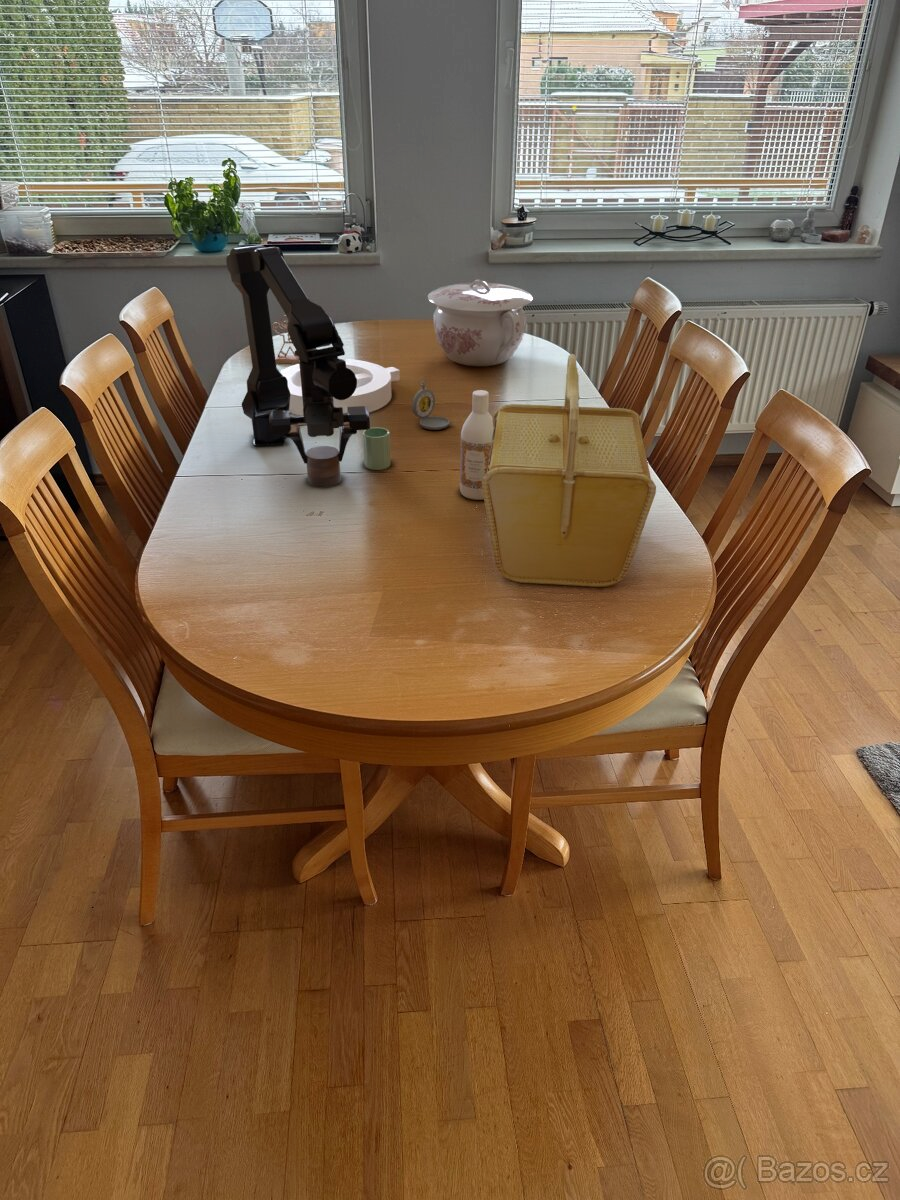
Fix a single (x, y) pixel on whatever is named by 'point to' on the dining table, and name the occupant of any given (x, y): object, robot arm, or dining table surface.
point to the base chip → (324, 481)
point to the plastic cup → (376, 448)
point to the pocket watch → (427, 409)
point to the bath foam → (475, 446)
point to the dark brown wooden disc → (322, 457)
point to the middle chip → (323, 471)
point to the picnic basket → (566, 491)
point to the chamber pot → (479, 321)
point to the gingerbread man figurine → (284, 357)
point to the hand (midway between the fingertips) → (323, 461)
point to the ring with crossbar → (369, 388)
